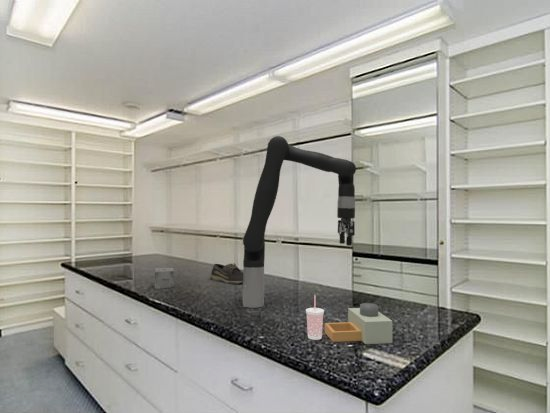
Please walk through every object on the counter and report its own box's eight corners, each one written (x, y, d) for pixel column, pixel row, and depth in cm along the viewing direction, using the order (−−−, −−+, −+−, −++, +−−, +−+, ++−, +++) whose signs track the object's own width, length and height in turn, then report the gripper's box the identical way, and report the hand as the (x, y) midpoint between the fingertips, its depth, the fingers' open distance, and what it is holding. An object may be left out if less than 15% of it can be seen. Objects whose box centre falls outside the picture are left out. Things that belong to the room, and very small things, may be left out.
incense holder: (154, 289, 188) (154, 270, 188) (154, 286, 196) (154, 267, 196) (173, 288, 191) (174, 269, 191) (173, 285, 199) (173, 266, 199)
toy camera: (335, 345, 111) (336, 313, 112) (322, 328, 127) (322, 300, 127) (392, 343, 114) (392, 311, 114) (371, 326, 130) (372, 299, 130)
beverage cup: (307, 333, 122) (307, 292, 123) (325, 335, 121) (325, 293, 121) (303, 339, 117) (303, 296, 117) (322, 341, 115) (322, 297, 115)
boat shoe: (243, 286, 199) (243, 267, 199) (204, 280, 214) (204, 262, 215) (254, 283, 208) (255, 264, 208) (216, 277, 224) (216, 260, 224)
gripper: (332, 207, 163) (332, 243, 162) (343, 207, 149) (343, 246, 148) (348, 207, 164) (347, 243, 164) (360, 207, 150) (360, 246, 150)
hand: (345, 244), depth 156 cm, fingers open, 8 cm apart
